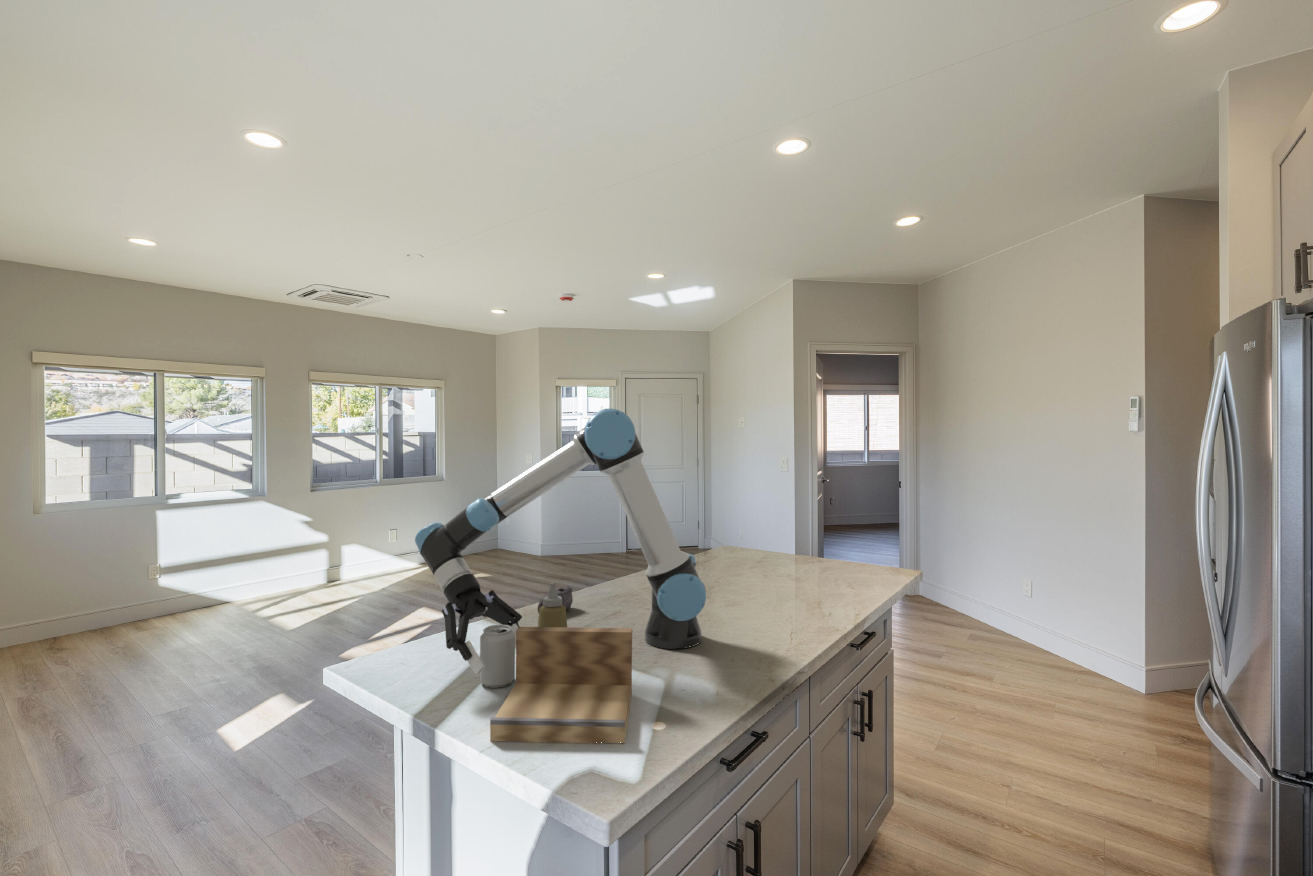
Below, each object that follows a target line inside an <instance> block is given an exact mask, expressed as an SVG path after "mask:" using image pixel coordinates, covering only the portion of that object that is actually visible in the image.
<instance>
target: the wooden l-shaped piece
mask: <svg viewBox="0 0 1313 876" xmlns="http://www.w3.org/2000/svg"><path fill="white" fill-rule="evenodd" d="M632 683H633V628H631V627H628V628H627V627H623V628H621V627H615V628H614V627H572V626H571V627H569V626H567V627H538V626H520V627H519V628H518V629H517V630H516V644H515V684H514V686H513V687H512V689H511V690H510V692H509V694H508V695H507V697H506V699H505V700H504V702H503V704H502V705H501V706H500V708H499V709H498V711H497V713H496V715H495V717H493V716H492V717H491V719H490V722H489V723H490V724H489V725H490V726H489V727H490V728H489V729H490V731H489V733H490V736H489V737H490V742H496V741H509V742H508V743H510V741H511V743H516V742H517V743H547V744H548V743H552V744H553V743H555V744H557V743H558V744H601V742H602V743H620V742H621V743H626V738H625V737H626V735H627V729H628V724H629V716H630V711H631V710H630V708H631V704H632V703H631V702H632V695H633V694H632V693H633V692H632V690H633V688H632V687H633V684H632ZM574 742H575V743H574ZM596 742H597V743H596Z"/></svg>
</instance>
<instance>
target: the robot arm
mask: <svg viewBox="0 0 1313 876" xmlns="http://www.w3.org/2000/svg"><path fill="white" fill-rule="evenodd" d="M644 455H645V452H644V449H643V447H642V444H641V442H640V440H639V437H638V435H637V433H636V429H635V424H634V423H633V421H632V420H631V418H630V417H629V415H628V414H626V413H625V412H623V411H621V410H620V409H616V408H604V409H602V410H599V411H597V412H595V413H594V414H593V415H591V416H590V417H589V418H588V420H587V422H586V424H585V426H584V427H583V428H582V429H581V430H579V431H578V432H576V433H575V434H574V436H573V438H572V440H571V441H570V442H568V443H567V444H565V445H564V446H562V447H560V448H559V449H557V450H556V451H554V452H553V453H551V454H549V455H548V456H547V457H545V458H543V459H542V460H540V461H539V462H538V463H536V464H534V465H533V466H531V467H530V468H528V469H526V470H525V471H523V472H522V473H520V474H519V475H518V476H516V477H515V478H513V479H512V480H510V481H509V482H507V483H506V484H504V485H502V486H501V487H499V488H497V489H496V490H495V491H493V492H492V493H491V494H489V495H487V496H486V497H485V496H484V498H483V497H481V498H477V499H476V500H475V501H473V502H472V503H470V504H468V505H467V506H466V508H464V509H463V510H462V511H460V512H459V513H458V514H456V515H455V516H454V517H453V518H451V520H450V521H448V522H447V523H445V524H444V525H443V524H442V523H441V522H432V523H429V524H428V525H427V526H423V527H422V528H421V529H420V530H419V531H418V532H417V533H416V535H415V538H414V542H415V545H416V547H417V549H418V550H419V554H420V556H421V557H422V559H423V560H424V561H425V564H426V565H427V567H428V569H429V570H430V571H431V573H432V575H433V577H434V579H435V580H436V582H437V584H438V586H439V587H440V589H441V590H442V591H443V594H444V596H445V598H446V600H447V603H445V606H443V608H442V609H441V613H442V615H443V617H444V626H445V627H444V630H445V646H446V648H447V649H449V650H451V649H452V650H453V651H454V652H458V651H459V653H460V655H461V657H462V659H463V660H464V661H466V662H467V663H468V665H469V666H470V668H471V670H472V672H473V673H474V675H476V676H477V675H478V674H480V671H481V670H482V669H483V668H484V667H485V666H484V665H483V663H482V661H481V659H480V655H479V654H478V652H477V651H476V649H475V647H474V645H473V644H472V642H471V641H470V640H467V634H468V629H469V624H470V620H473V619H475V618H479V617H481V616H482V617H484V618H486V617H487V618H490V619H491V620H493V621H495V622H496V623H498V624H499V625H508V626H511V627H512V631H513V632H514V633H515V645H516V630H517V629H518V628H519V627H521V626H520V625H519V622H520V620H521V619H522V618H523V616H522V615H521V614H520V613H519V612H517V611H516V610H515V609H514V608H513V607H512V606H510V605H509V604H508V603H507V602H505V601H504V600H503V599H501V598H500V597H499V596H498V595H497V593H496V592H495V591H494V590H493V589H492V590H491V589H490V591H489V592H488V593H486V594H484V593H483V592H482V591H481V585H480V583H479V581H478V580H477V578H476V577H475V575H474V574H472V569H470V567H469V565H468V564H467V562H466V560H465V558H464V557H463V555H462V554H461V553H462V552H463V551H464V550H465V549H467V548H468V547H469V546H471V544H473V543H474V542H475V541H477V540H478V539H480V538H481V537H482V536H483V535H485V534H486V533H487V532H489V531H490V530H492V529H493V527H495V526H497V525H498V524H500V523H501V522H503V521H504V520H506V519H507V518H509V517H510V516H512V515H513V514H514V513H516V512H517V511H519V510H521V509H523V507H526V506H527V505H528V504H530V503H532V502H533V501H534V500H536V499H538V498H540V497H541V496H542V495H544V494H545V493H547V492H549V491H550V490H551V489H553V488H554V487H556V486H557V485H559V484H561V483H562V482H564V481H565V480H567V479H569V478H570V477H572V476H573V475H575V474H576V473H577V472H579V471H580V470H582V469H584V468H585V467H587V466H589V465H590V466H595V465H596V466H597V467H598V470H599V472H600V473H602V474H604V475H606V476H609V479H610V481H611V483H612V486H613V488H614V490H615V493H616V494H617V497H618V499H619V502H620V503H621V507H622V509H623V511H624V513H625V515H626V517H627V519H628V522H629V524H630V526H631V529H632V531H633V533H634V535H635V537H636V540H637V542H638V545H639V547H640V549H641V551H642V553H643V556H644V558H645V559H646V562H647V564H648V566H647V569H646V571H645V576H646V578H647V580H648V583H649V584H650V587H651V611H650V613H649V618H648V621H647V624H646V626H645V630H644V640H645V643H647V644H648V645H650V646H653V647H655V646H656V648H659V647H660V649H667V650H668V649H669V650H678V649H677V648H684V649H686V648H685V647H689V646H693V645H695V644H697V643H699V642H700V641H702V629H701V627H700V623H699V620H698V617H697V616H698V615H699V614H700V613H701V612H702V610H703V608H704V607H705V604H706V601H707V590H706V587H705V584H704V582H703V581H702V580H701V578H700V576H699V574H698V572H697V569H696V566H697V562H696V557H695V555H693V554H690V553H688V552H685V551H682V550H681V549H680V547H679V545H678V542H677V539H676V538H675V537H676V536H675V535H674V533H673V530H672V528H671V526H670V524H669V521H668V519H667V516H666V514H665V512H664V509H663V507H662V506H661V503H660V501H659V499H658V496H657V494H656V492H655V489H654V487H653V485H652V482H651V479H650V477H649V476H648V473H647V471H646V469H645V467H644V465H643V461H642V459H643V457H644ZM456 613H457V614H459V617H458V628H457V618H456ZM466 640H467V641H466ZM700 643H701V642H700ZM700 643H699V644H700ZM693 647H694V646H693ZM689 648H690V647H689Z"/></svg>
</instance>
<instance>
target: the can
mask: <svg viewBox="0 0 1313 876" xmlns="http://www.w3.org/2000/svg"><path fill="white" fill-rule="evenodd" d="M479 638H480V639H479V641H480V642H479V643H480V644H479V658H480V659H481V661H482V663H483V665H484V666H485V667H484V668H483V669H482V670H481V671H480V672H479V682H480V683H481V684H482V685H483V686H484V685H485V686H484V687H486V688H489V687H490V688H489V689H499V687H500V688H504V687H506V685H507V686H508V685H510V684H511V683H512V682H513V681H514V680H515V679H516V644H515V633H514V632H513V631H512V627H511V626H508V625H502V624H493V625H490V626H489V625H488V626H487V627H485V628H483V633H482V634H481V635H480V637H479Z"/></svg>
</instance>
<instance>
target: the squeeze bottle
mask: <svg viewBox="0 0 1313 876" xmlns="http://www.w3.org/2000/svg"><path fill="white" fill-rule="evenodd" d="M547 595H548V596H547V597H545V596H543V597H544V598H543V597H542V598H543V606H542V607H541V608H540V609H539V613H538V620H537V627H568V618H567V610H566V607H564V606H563V605H562V597H560V596H558V594H557V586H556V582H551V583H550V585H549V588H548V593H547Z"/></svg>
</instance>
